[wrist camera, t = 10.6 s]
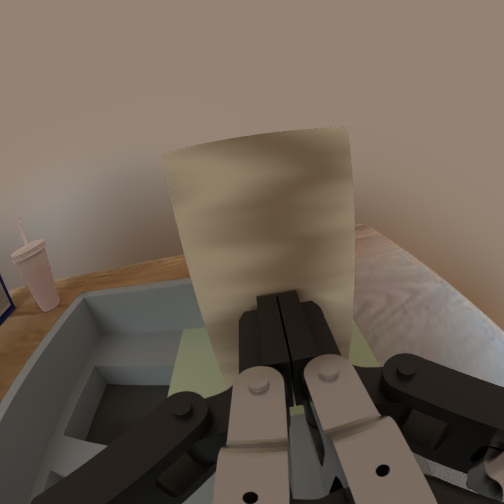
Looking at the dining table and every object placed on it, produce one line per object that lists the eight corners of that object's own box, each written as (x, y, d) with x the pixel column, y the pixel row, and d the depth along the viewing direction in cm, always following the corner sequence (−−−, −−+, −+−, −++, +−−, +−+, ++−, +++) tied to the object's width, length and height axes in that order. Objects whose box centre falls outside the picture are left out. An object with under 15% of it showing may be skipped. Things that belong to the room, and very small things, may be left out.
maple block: (235, 412, 13) (161, 153, 8) (235, 342, 18) (193, 148, 13) (343, 393, 13) (347, 126, 8) (319, 329, 18) (305, 131, 13)
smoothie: (67, 290, 36) (38, 209, 31) (67, 306, 31) (32, 213, 26) (37, 304, 33) (6, 224, 28) (33, 321, 28) (-5, 231, 23)
